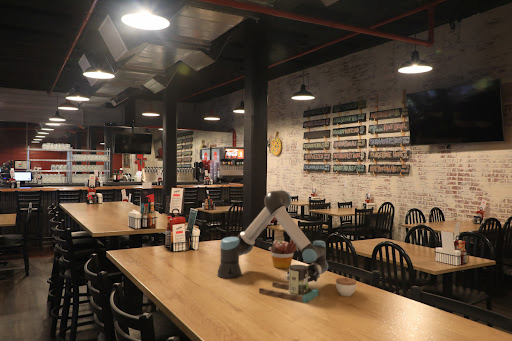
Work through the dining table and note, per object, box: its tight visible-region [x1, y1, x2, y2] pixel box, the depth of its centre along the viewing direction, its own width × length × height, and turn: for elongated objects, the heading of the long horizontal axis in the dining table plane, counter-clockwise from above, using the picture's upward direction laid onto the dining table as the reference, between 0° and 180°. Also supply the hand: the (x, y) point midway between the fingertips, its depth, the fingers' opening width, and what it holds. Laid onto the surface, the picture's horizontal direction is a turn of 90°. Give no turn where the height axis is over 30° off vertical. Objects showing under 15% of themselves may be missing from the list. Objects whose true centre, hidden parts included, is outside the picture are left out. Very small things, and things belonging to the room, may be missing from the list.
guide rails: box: [258, 281, 320, 303], centre depth 213 cm, size 28×16×2 cm, turn 58°
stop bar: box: [301, 288, 320, 304], centre depth 206 cm, size 2×16×3 cm, turn 148°
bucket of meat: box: [268, 239, 297, 269], centre depth 272 cm, size 20×16×20 cm
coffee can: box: [288, 264, 309, 296], centre depth 210 cm, size 10×10×14 cm
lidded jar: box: [335, 276, 357, 297], centre depth 214 cm, size 11×11×9 cm
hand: (295, 279), depth 206 cm, fingers closed on coffee can, 10 cm apart
